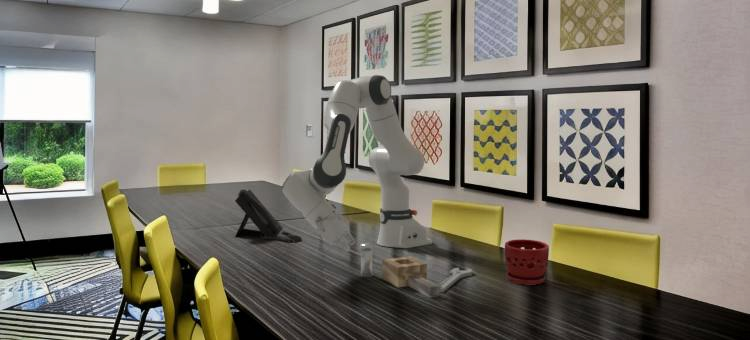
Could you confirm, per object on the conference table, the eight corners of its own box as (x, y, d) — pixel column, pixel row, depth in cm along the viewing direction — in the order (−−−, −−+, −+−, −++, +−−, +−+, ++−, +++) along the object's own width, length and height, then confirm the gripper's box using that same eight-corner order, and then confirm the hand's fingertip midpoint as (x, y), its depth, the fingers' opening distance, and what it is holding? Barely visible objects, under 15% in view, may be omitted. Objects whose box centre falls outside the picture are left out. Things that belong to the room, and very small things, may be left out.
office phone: (300, 243, 216) (300, 193, 215) (228, 242, 215) (228, 192, 214) (307, 228, 245) (307, 184, 244) (244, 228, 245) (244, 184, 243)
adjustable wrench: (442, 295, 154) (442, 289, 154) (422, 291, 158) (422, 285, 157) (474, 274, 175) (474, 268, 175) (456, 271, 179) (456, 265, 179)
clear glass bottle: (369, 273, 174) (369, 242, 173) (375, 276, 170) (376, 245, 169) (357, 274, 172) (357, 243, 171) (363, 278, 168) (363, 246, 167)
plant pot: (499, 275, 173) (500, 238, 172) (540, 276, 173) (542, 239, 172) (508, 287, 160) (509, 247, 159) (553, 288, 160) (554, 248, 159)
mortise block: (409, 274, 172) (410, 256, 172) (449, 294, 153) (449, 274, 152) (382, 278, 168) (382, 259, 167) (419, 299, 148) (419, 278, 148)
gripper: (321, 213, 160) (353, 247, 160) (334, 203, 180) (363, 233, 180) (306, 228, 161) (338, 261, 161) (321, 216, 181) (350, 246, 181)
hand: (351, 246), depth 171 cm, fingers open, 8 cm apart
